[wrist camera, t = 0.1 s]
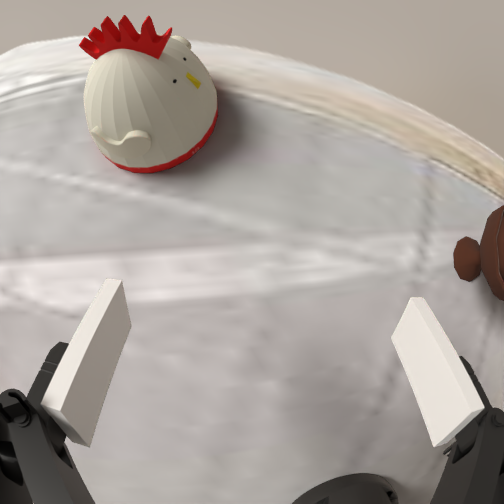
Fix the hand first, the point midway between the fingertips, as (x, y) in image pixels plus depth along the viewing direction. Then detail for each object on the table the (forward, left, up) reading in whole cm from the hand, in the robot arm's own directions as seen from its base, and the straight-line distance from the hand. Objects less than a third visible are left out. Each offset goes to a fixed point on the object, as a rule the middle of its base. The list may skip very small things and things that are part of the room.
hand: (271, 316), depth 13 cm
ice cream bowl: (+5, -26, -16) cm, 31 cm away
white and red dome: (+18, +12, -16) cm, 27 cm away
